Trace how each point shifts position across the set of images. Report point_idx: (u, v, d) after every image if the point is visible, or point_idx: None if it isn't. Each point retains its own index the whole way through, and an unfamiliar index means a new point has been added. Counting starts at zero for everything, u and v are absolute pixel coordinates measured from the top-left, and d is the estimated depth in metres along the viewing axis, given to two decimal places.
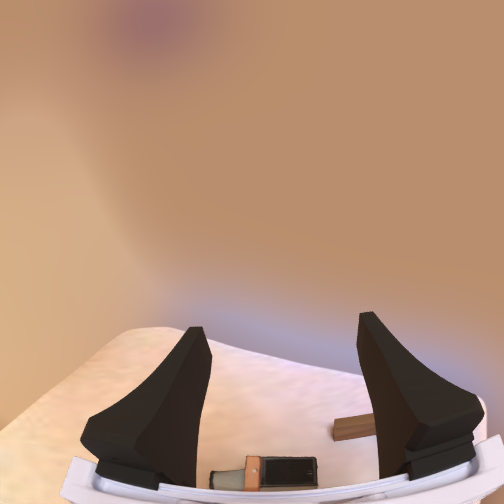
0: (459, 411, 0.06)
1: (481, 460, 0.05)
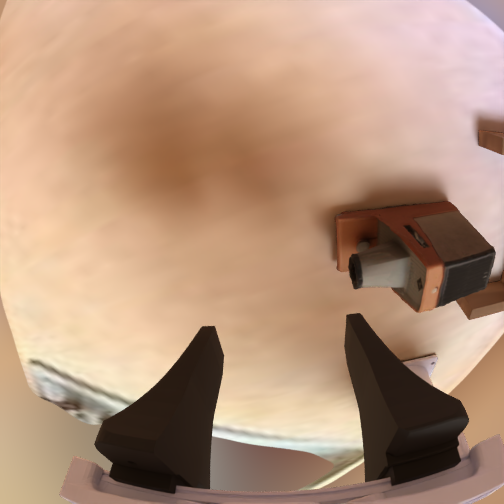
0: (441, 417, 0.06)
1: (481, 460, 0.05)
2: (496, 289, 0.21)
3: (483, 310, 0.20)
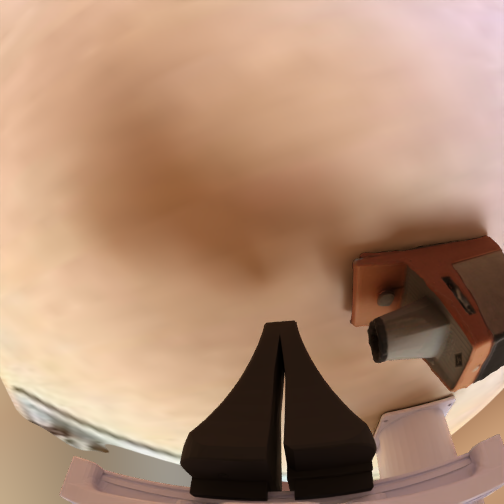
0: (333, 440, 0.06)
1: (481, 460, 0.05)
2: None
3: None
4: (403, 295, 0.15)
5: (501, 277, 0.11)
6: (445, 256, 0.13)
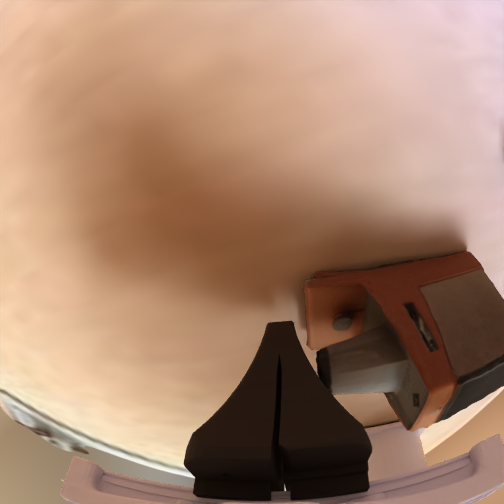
0: (329, 441, 0.06)
1: (481, 460, 0.05)
2: None
3: None
4: (364, 318, 0.14)
5: (478, 302, 0.10)
6: (412, 277, 0.12)
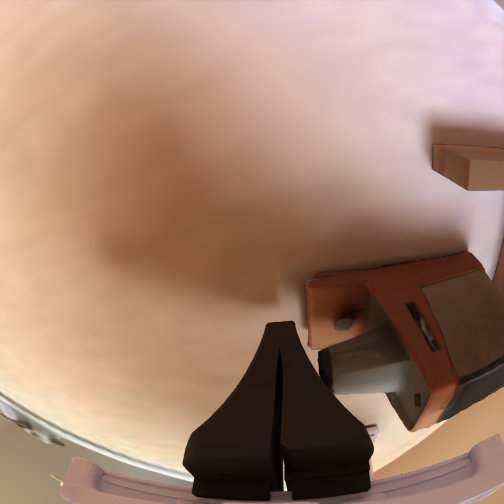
0: (330, 440, 0.06)
1: (481, 460, 0.05)
2: None
3: None
4: (365, 319, 0.14)
5: (479, 303, 0.10)
6: (414, 277, 0.12)
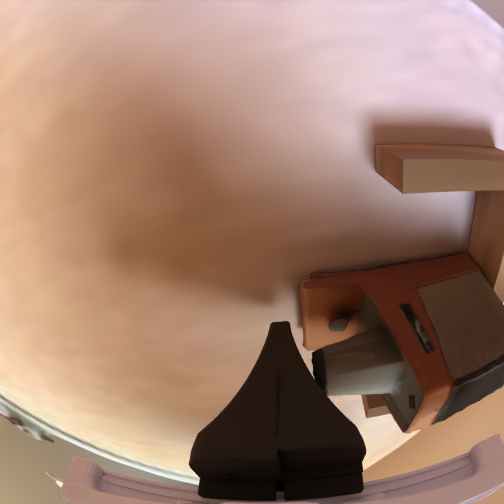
0: (322, 441, 0.06)
1: (481, 460, 0.05)
2: None
3: None
4: (360, 319, 0.14)
5: (475, 304, 0.10)
6: (409, 278, 0.12)
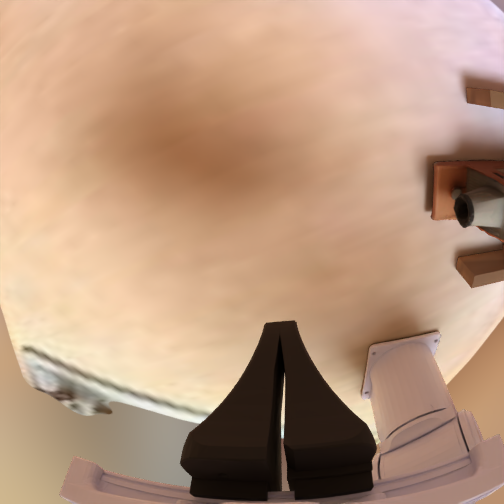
0: (334, 440, 0.06)
1: (481, 460, 0.05)
2: (498, 257, 0.20)
3: (486, 277, 0.19)
4: None
5: None
6: (489, 165, 0.16)
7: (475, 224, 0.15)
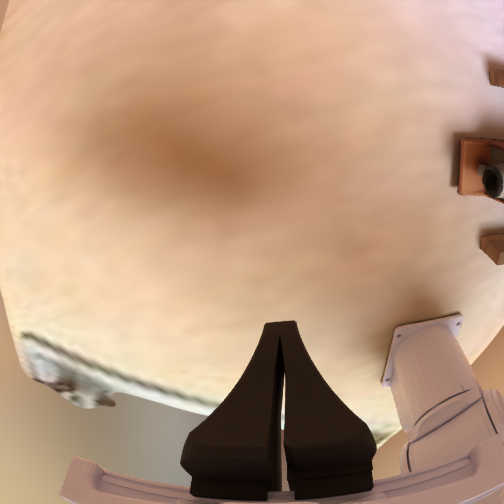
0: (334, 440, 0.06)
1: (481, 460, 0.05)
2: None
3: None
4: None
5: None
6: None
7: (503, 195, 0.14)
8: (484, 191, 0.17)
